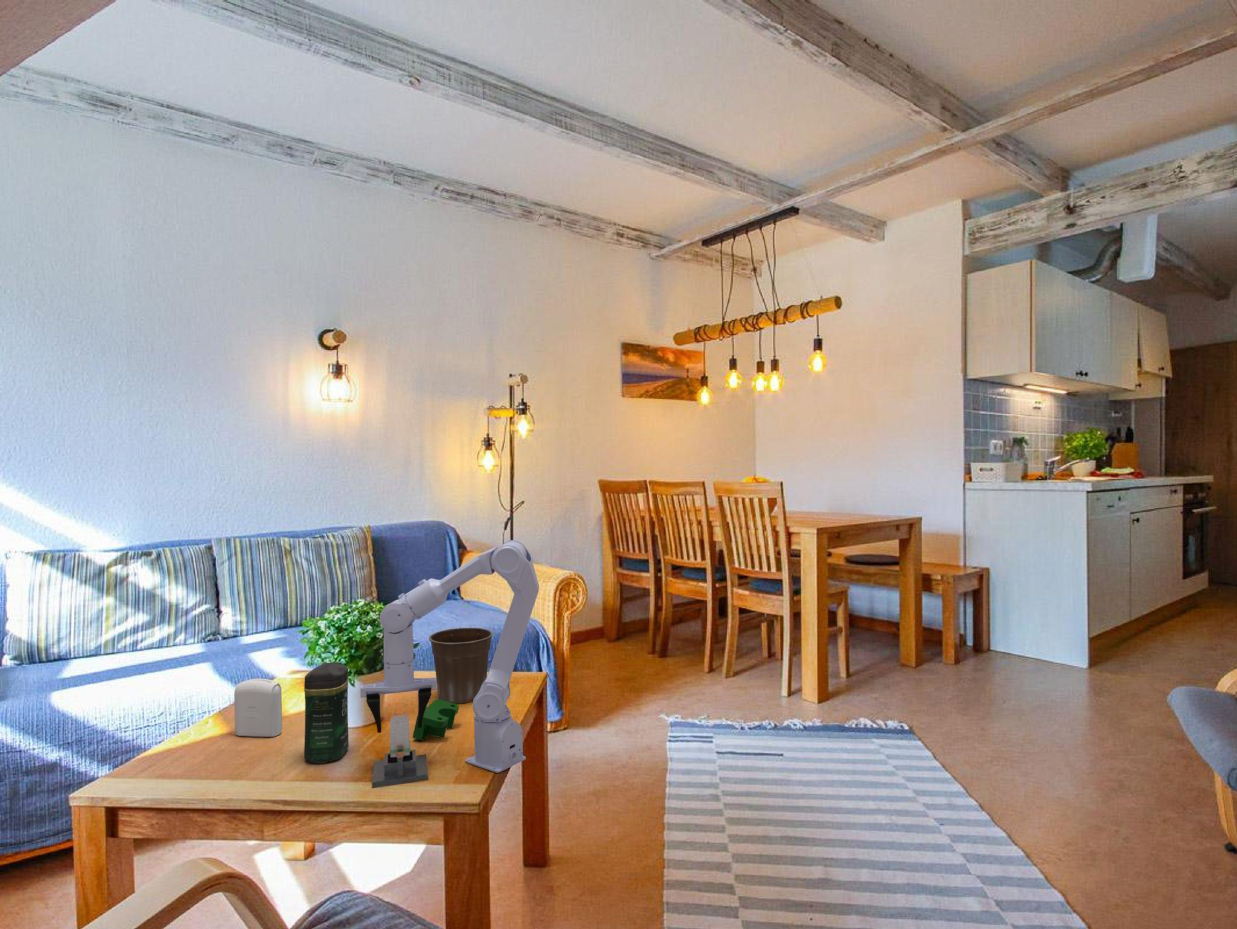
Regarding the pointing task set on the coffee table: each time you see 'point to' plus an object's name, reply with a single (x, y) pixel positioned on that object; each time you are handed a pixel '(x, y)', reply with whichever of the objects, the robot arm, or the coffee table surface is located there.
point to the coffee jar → (326, 713)
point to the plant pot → (460, 662)
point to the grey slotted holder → (400, 769)
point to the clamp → (436, 719)
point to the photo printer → (258, 708)
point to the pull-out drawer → (399, 735)
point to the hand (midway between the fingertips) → (399, 728)
